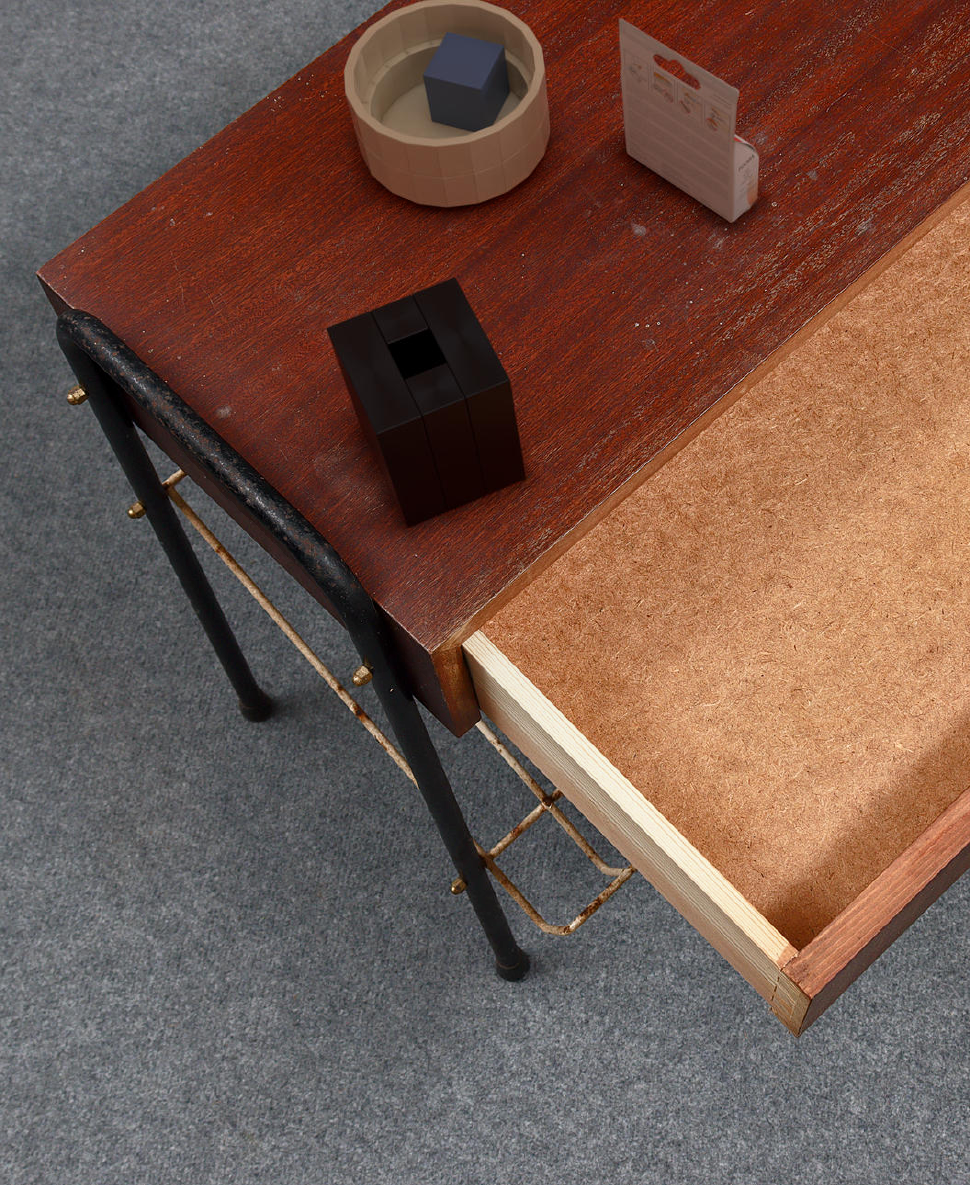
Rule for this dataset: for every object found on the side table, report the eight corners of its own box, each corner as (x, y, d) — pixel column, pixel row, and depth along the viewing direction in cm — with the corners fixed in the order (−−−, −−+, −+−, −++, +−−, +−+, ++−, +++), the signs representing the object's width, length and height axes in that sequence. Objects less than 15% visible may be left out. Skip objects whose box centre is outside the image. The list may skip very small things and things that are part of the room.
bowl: (403, 239, 88) (387, 173, 83) (335, 109, 93) (316, 38, 88) (581, 171, 90) (576, 101, 85) (504, 46, 95) (496, -27, 90)
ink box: (647, 131, 91) (647, -13, 81) (757, 203, 88) (771, 63, 78) (618, 157, 90) (614, 15, 80) (728, 230, 87) (739, 92, 77)
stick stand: (407, 529, 79) (376, 434, 70) (361, 429, 82) (325, 327, 73) (526, 478, 80) (510, 379, 71) (476, 382, 83) (455, 276, 74)
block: (431, 121, 92) (422, 75, 88) (454, 79, 93) (446, 31, 89) (487, 136, 91) (480, 89, 87) (510, 92, 92) (504, 45, 89)
